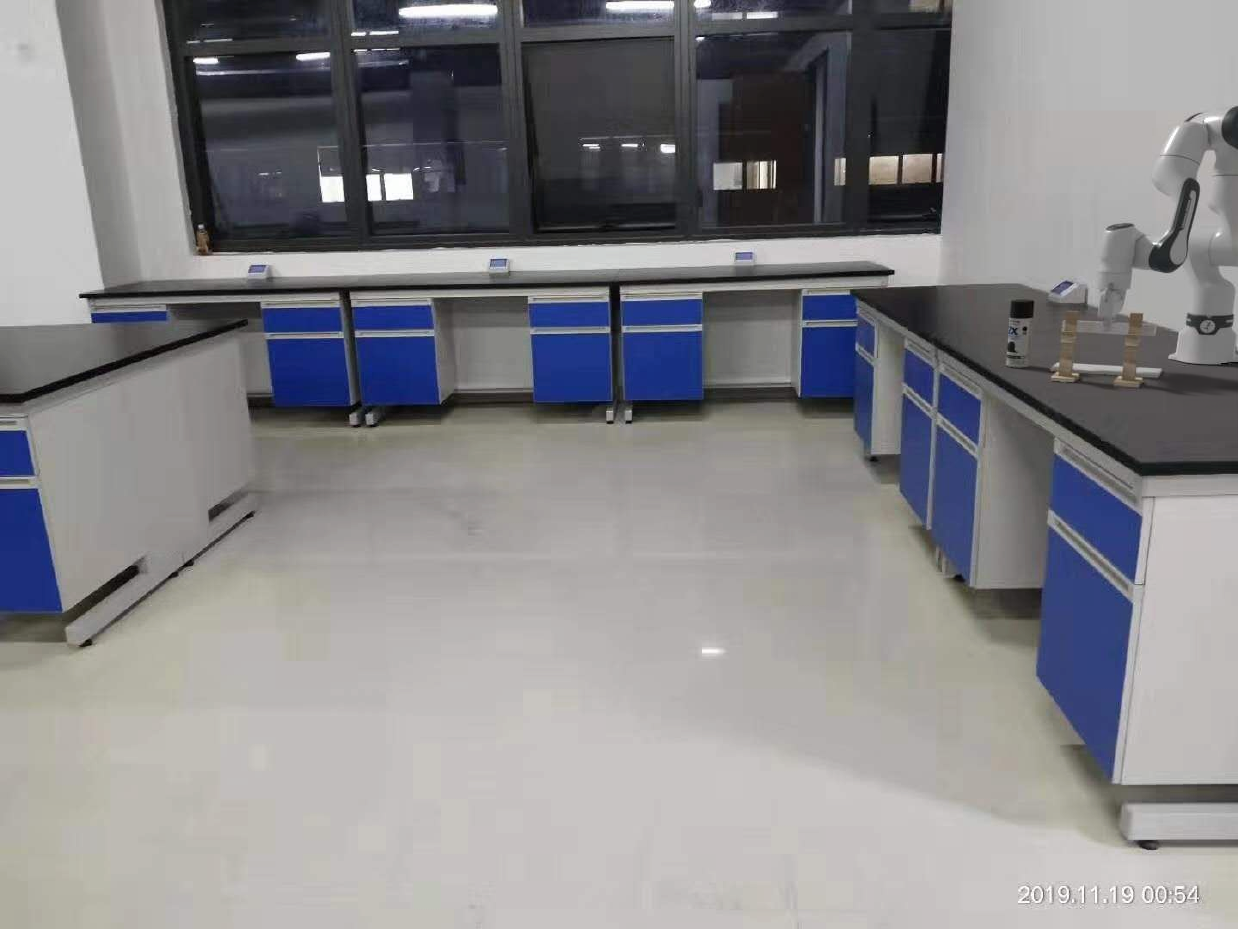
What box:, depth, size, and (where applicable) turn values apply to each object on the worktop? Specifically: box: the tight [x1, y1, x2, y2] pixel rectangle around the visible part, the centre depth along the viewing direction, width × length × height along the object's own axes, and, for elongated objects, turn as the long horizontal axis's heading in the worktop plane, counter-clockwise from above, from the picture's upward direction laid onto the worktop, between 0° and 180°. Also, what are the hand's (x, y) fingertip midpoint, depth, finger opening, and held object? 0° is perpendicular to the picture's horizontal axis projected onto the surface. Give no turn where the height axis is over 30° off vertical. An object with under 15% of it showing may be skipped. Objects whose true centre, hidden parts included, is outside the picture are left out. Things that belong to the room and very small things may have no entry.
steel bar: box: [1061, 319, 1158, 337], centre depth 273 cm, size 3×24×3 cm, turn 55°
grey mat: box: [1049, 361, 1163, 379], centre depth 277 cm, size 10×28×1 cm, turn 55°
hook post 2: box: [1113, 312, 1144, 388], centre depth 257 cm, size 8×6×19 cm
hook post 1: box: [1050, 310, 1080, 383], centre depth 266 cm, size 8×6×19 cm
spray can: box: [1005, 298, 1035, 369], centre depth 286 cm, size 7×7×20 cm
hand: (1107, 331), depth 273 cm, fingers closed on steel bar, 3 cm apart
